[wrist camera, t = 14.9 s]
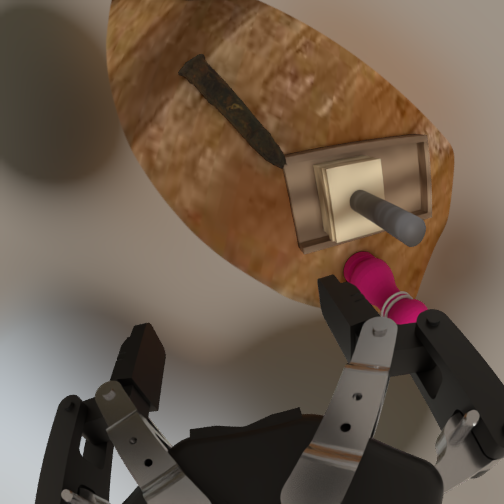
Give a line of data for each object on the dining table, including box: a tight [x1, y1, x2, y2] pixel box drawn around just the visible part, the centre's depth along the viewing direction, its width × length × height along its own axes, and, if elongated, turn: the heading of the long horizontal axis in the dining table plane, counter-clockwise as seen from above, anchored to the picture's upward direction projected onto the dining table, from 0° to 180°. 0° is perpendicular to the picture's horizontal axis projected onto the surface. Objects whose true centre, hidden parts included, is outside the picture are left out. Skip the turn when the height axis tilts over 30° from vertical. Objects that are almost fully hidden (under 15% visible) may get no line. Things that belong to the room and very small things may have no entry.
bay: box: [283, 134, 432, 254], centre depth 39 cm, size 14×24×3 cm, turn 103°
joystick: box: [313, 155, 426, 247], centre depth 31 cm, size 10×8×17 cm
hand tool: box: [178, 54, 285, 169], centre depth 32 cm, size 19×4×5 cm, turn 37°
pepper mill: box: [344, 252, 428, 324], centre depth 37 cm, size 7×7×20 cm
